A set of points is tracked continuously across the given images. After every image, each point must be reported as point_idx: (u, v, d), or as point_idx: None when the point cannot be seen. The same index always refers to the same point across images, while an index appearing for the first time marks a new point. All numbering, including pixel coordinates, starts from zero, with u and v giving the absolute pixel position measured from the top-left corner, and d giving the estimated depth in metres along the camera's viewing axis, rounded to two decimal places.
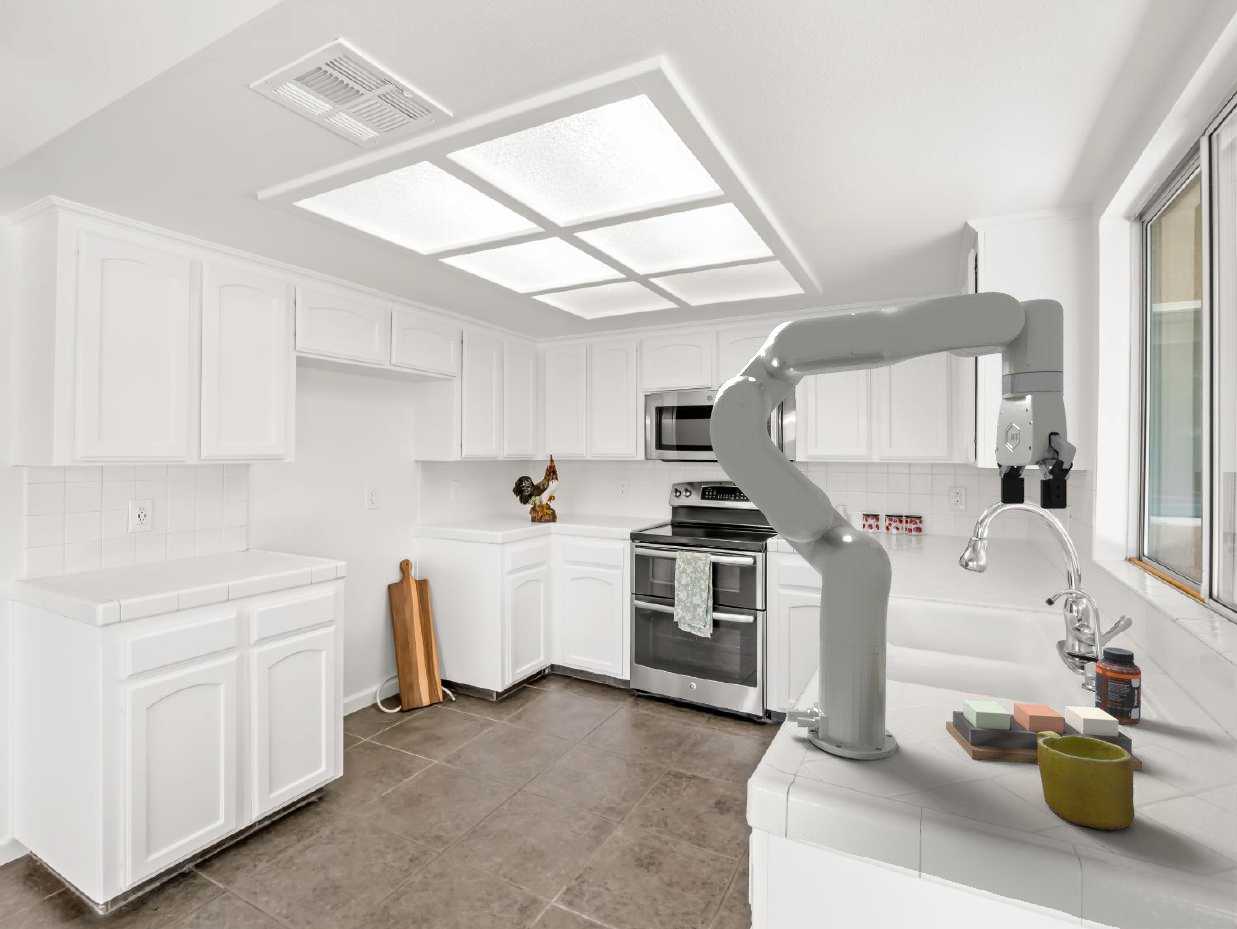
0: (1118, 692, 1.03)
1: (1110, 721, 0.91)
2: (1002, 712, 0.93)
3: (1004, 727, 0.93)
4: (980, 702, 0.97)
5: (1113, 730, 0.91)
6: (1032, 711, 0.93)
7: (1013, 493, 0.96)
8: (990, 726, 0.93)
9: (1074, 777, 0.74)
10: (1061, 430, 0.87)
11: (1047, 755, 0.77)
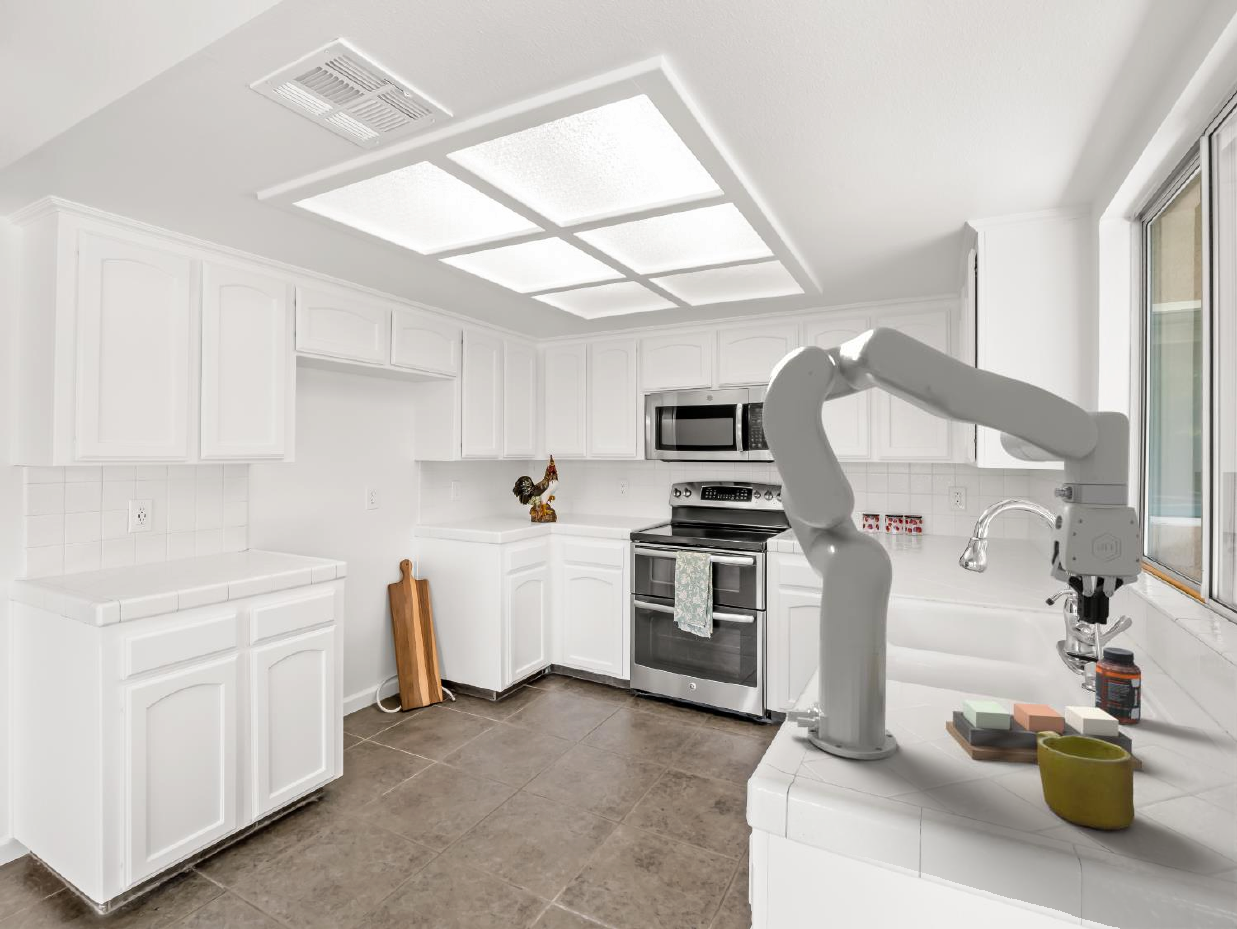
0: (1118, 692, 1.03)
1: (1110, 721, 0.91)
2: (1002, 712, 0.93)
3: (1004, 727, 0.93)
4: (980, 702, 0.97)
5: (1113, 730, 0.91)
6: (1032, 711, 0.93)
7: None
8: (990, 726, 0.93)
9: (1074, 777, 0.74)
10: None
11: (1047, 755, 0.77)
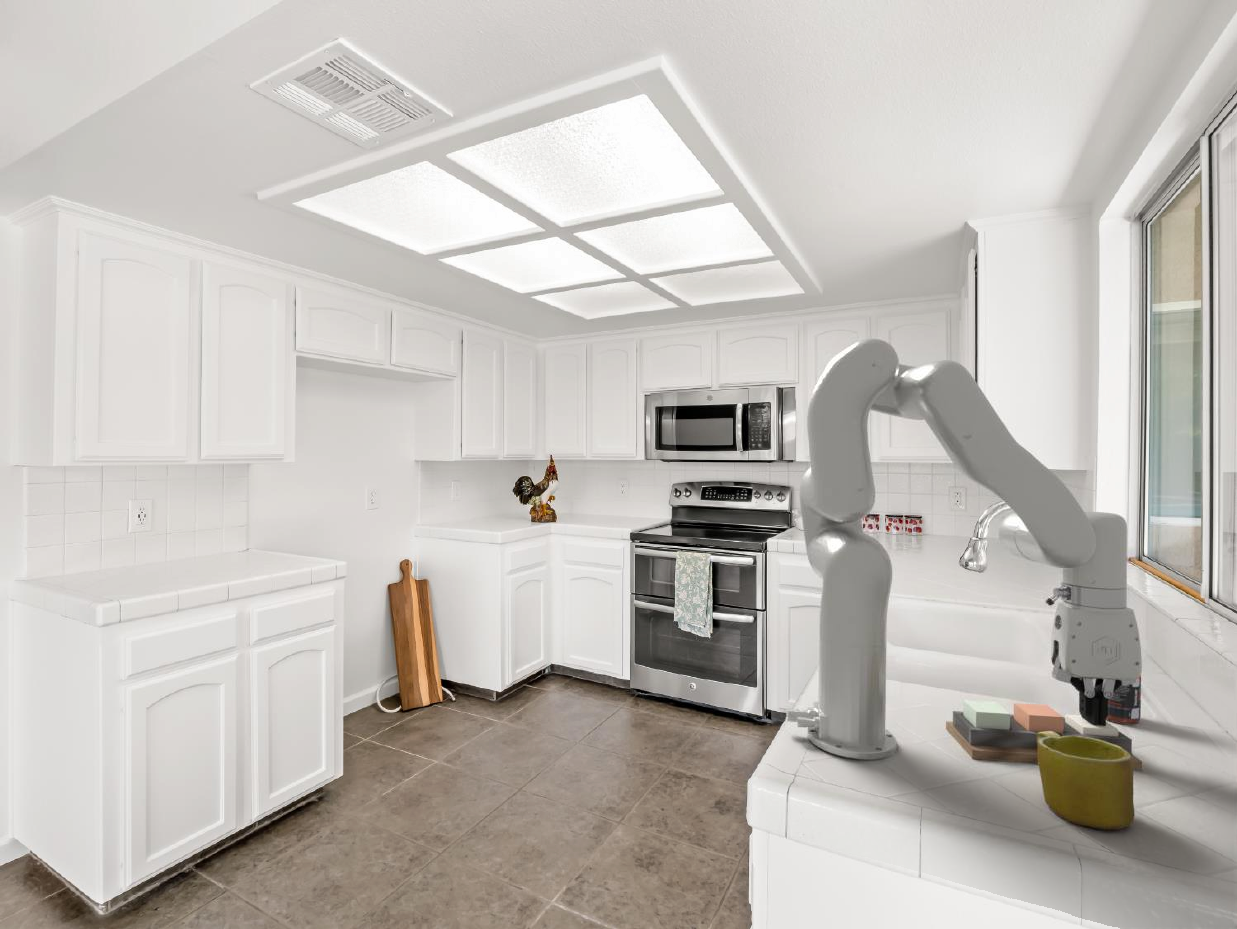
0: (1118, 692, 1.03)
1: (1110, 730, 0.91)
2: (1002, 712, 0.93)
3: (1004, 727, 0.93)
4: (980, 702, 0.97)
5: None
6: (1032, 711, 0.93)
7: None
8: (990, 726, 0.93)
9: (1074, 777, 0.74)
10: None
11: (1047, 755, 0.77)
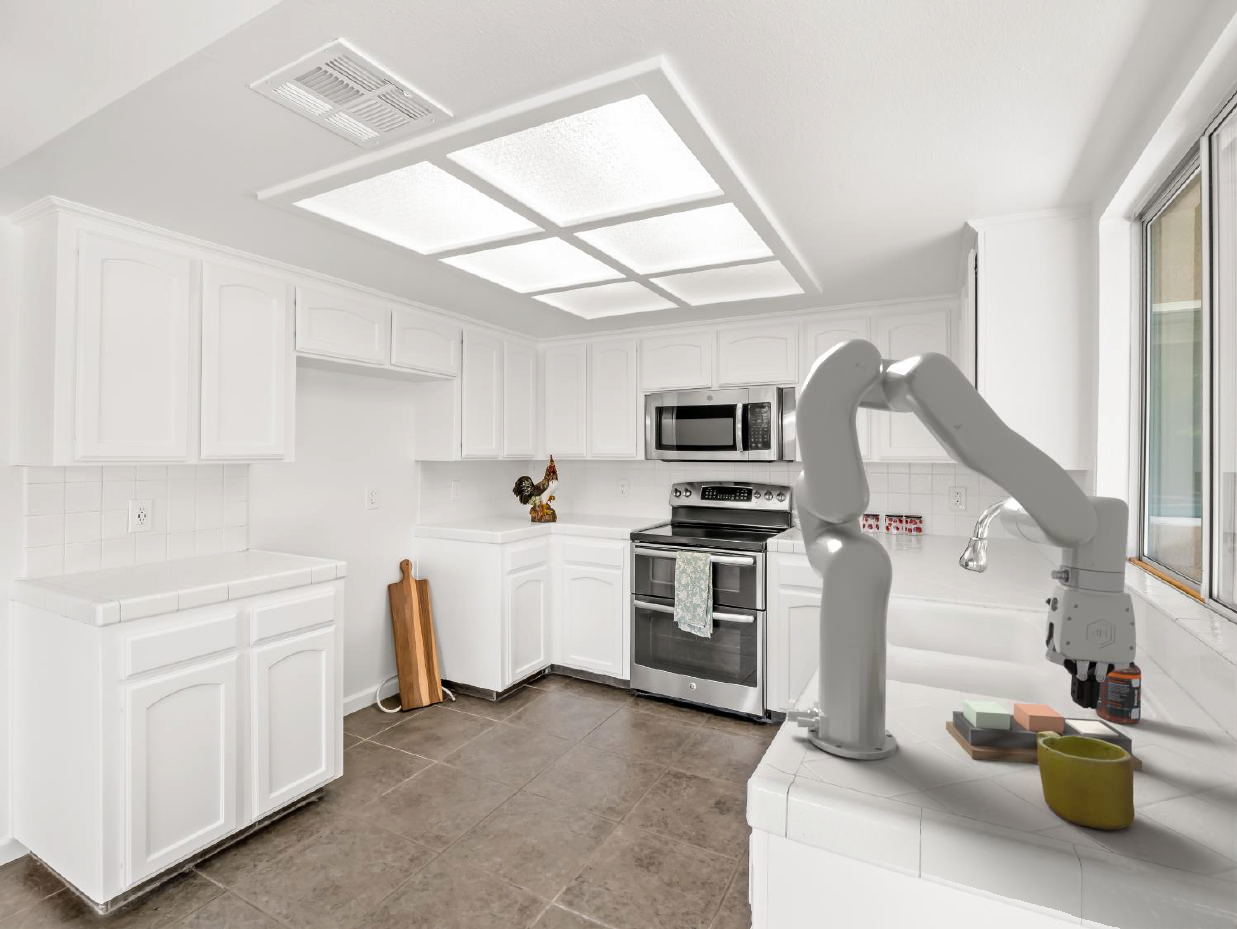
0: (1118, 692, 1.03)
1: (1110, 735, 0.91)
2: (1002, 712, 0.93)
3: (1004, 727, 0.93)
4: (980, 702, 0.97)
5: None
6: (1032, 711, 0.93)
7: None
8: (990, 726, 0.93)
9: (1074, 777, 0.74)
10: None
11: (1047, 755, 0.77)
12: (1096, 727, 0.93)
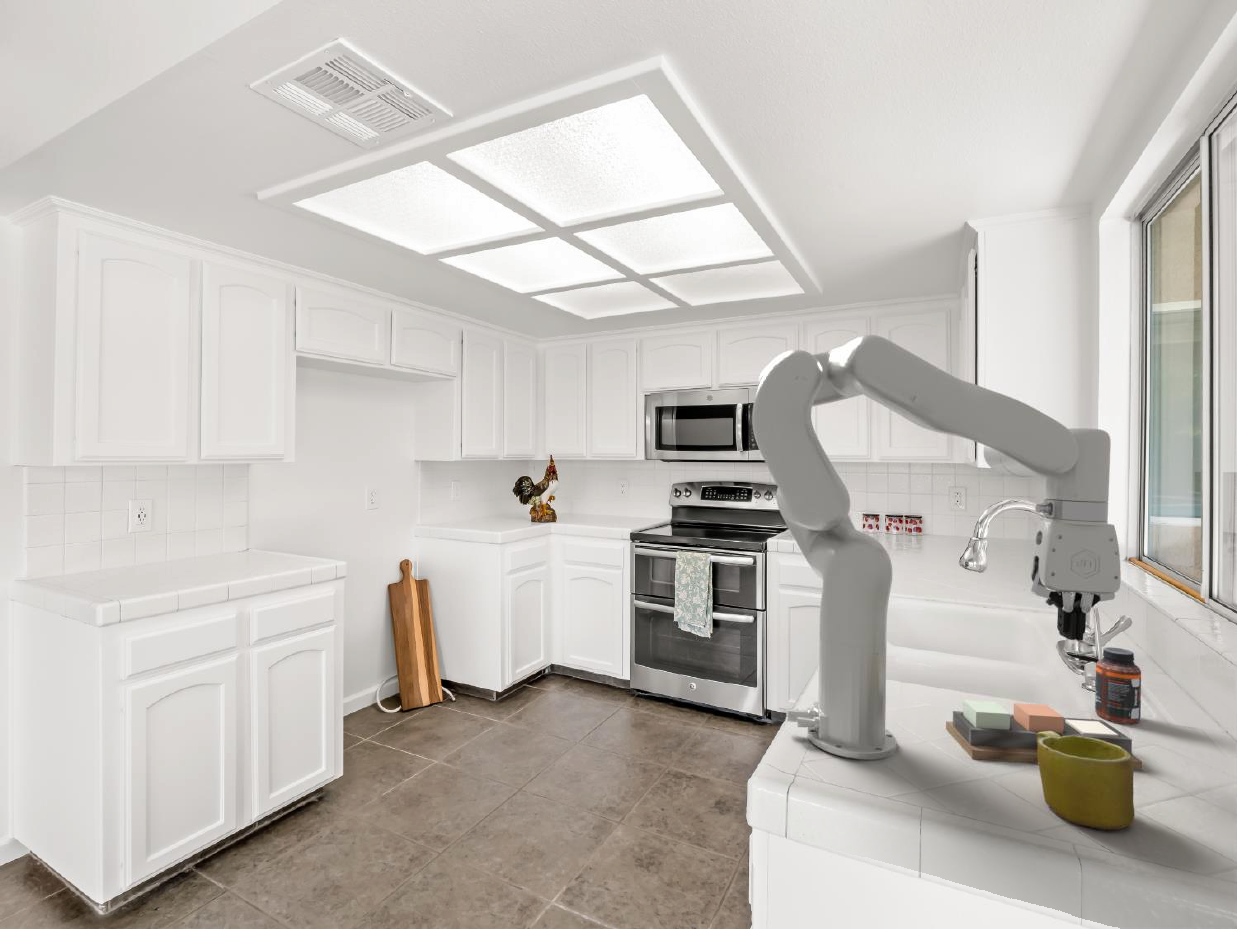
0: (1118, 692, 1.03)
1: (1110, 735, 0.91)
2: (1002, 712, 0.93)
3: (1004, 727, 0.93)
4: (980, 702, 0.97)
5: None
6: (1032, 711, 0.93)
7: None
8: (990, 726, 0.93)
9: (1074, 777, 0.74)
10: None
11: (1047, 755, 0.77)
12: (1096, 727, 0.93)
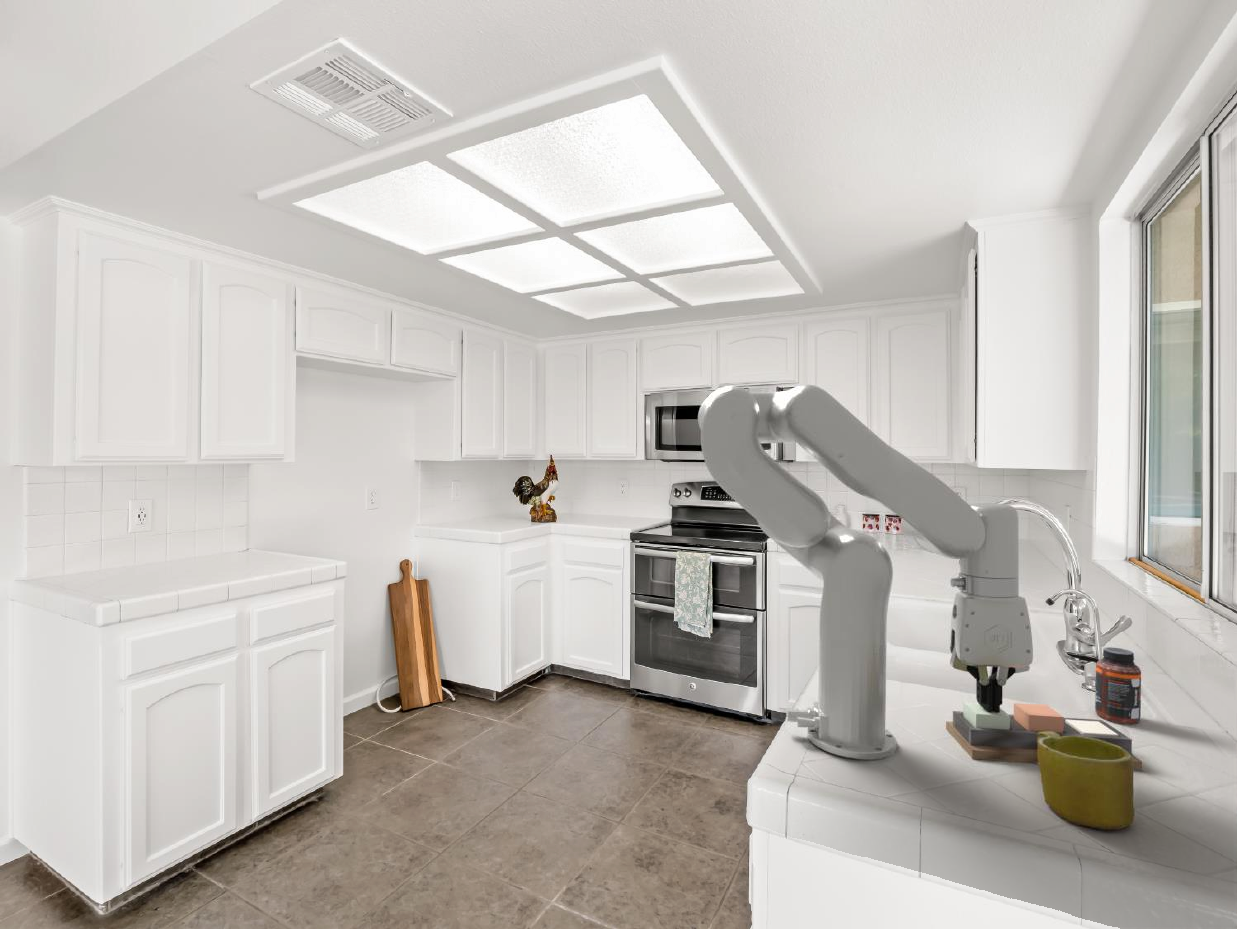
0: (1118, 692, 1.03)
1: (1110, 735, 0.91)
2: (1002, 714, 0.93)
3: None
4: None
5: None
6: (1032, 711, 0.93)
7: None
8: (990, 728, 0.93)
9: (1074, 777, 0.74)
10: None
11: (1047, 755, 0.77)
12: (1096, 727, 0.93)
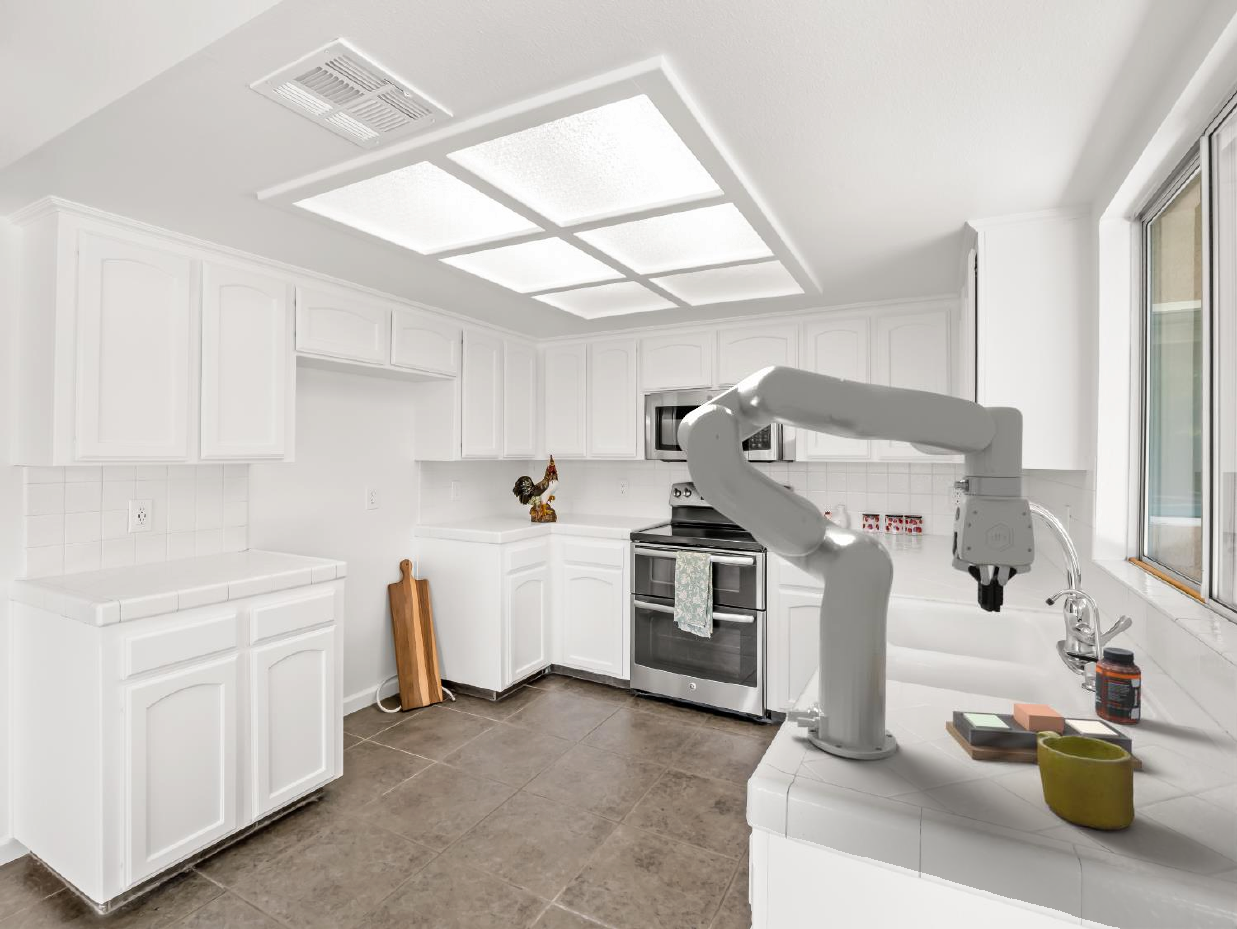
0: (1118, 692, 1.03)
1: (1110, 735, 0.91)
2: (1002, 726, 0.93)
3: None
4: (980, 716, 0.97)
5: None
6: (1032, 711, 0.93)
7: None
8: None
9: (1074, 777, 0.74)
10: None
11: (1047, 755, 0.77)
12: (1096, 727, 0.93)
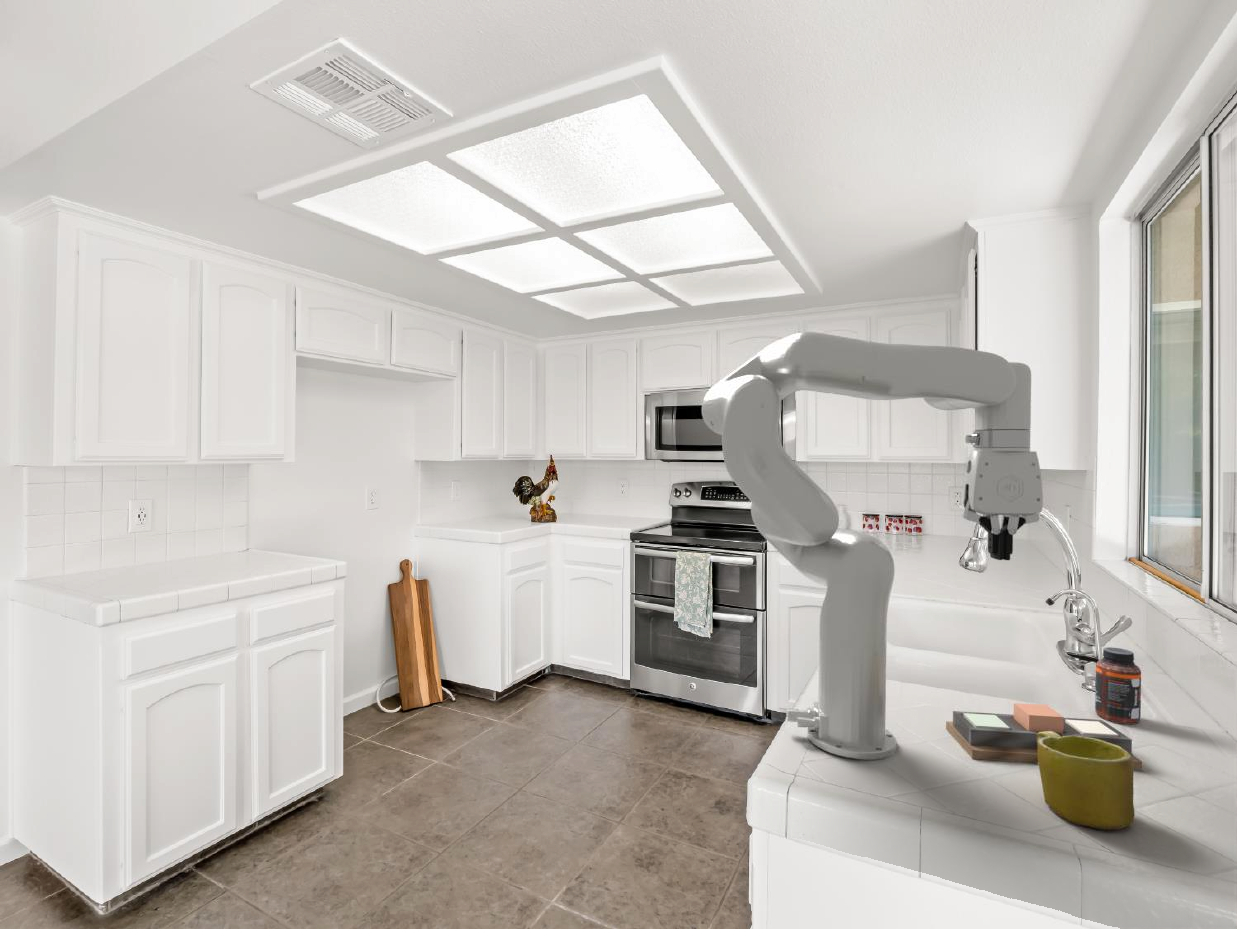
0: (1118, 692, 1.03)
1: (1110, 735, 0.91)
2: (1002, 726, 0.93)
3: None
4: (980, 716, 0.97)
5: None
6: (1032, 711, 0.93)
7: None
8: None
9: (1074, 777, 0.74)
10: None
11: (1047, 755, 0.77)
12: (1096, 727, 0.93)
